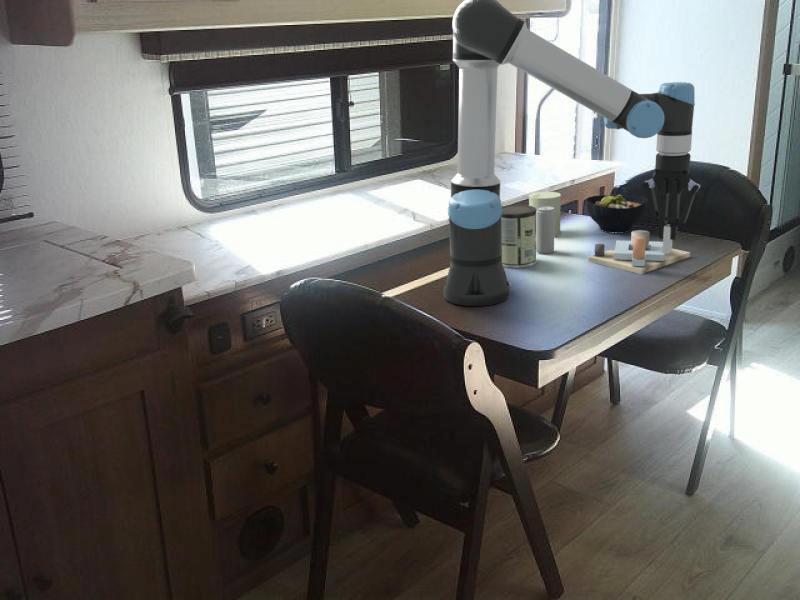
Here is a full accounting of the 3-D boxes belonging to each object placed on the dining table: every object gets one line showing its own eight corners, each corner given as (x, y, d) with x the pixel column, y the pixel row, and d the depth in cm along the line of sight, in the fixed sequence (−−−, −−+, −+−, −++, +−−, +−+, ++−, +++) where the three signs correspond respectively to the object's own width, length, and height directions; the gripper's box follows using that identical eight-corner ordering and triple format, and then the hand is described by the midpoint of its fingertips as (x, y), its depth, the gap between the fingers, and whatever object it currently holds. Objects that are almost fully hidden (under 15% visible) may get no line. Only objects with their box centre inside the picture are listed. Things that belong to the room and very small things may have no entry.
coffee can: (505, 255, 213) (505, 203, 208) (542, 259, 208) (542, 206, 203) (489, 265, 204) (488, 212, 200) (527, 270, 199) (527, 215, 195)
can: (523, 232, 234) (523, 192, 230) (551, 228, 237) (551, 188, 233) (537, 239, 226) (537, 197, 222) (566, 235, 228) (567, 194, 224)
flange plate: (616, 246, 210) (617, 221, 207) (664, 247, 206) (665, 223, 204) (612, 265, 194) (613, 238, 192) (664, 267, 191) (665, 240, 189)
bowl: (649, 236, 222) (651, 201, 219) (587, 237, 225) (587, 202, 222) (642, 221, 238) (643, 189, 235) (583, 222, 241) (584, 190, 238)
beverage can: (553, 249, 215) (553, 205, 211) (554, 254, 211) (555, 210, 207) (535, 249, 216) (535, 206, 212) (536, 254, 211) (536, 210, 207)
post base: (641, 274, 191) (642, 246, 189) (588, 261, 203) (589, 234, 201) (689, 256, 203) (691, 230, 200) (637, 245, 215) (638, 220, 212)
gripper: (706, 151, 181) (699, 251, 189) (649, 149, 188) (644, 245, 196) (699, 156, 175) (691, 259, 183) (639, 154, 182) (634, 253, 190)
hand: (667, 252), depth 189 cm, fingers closed
